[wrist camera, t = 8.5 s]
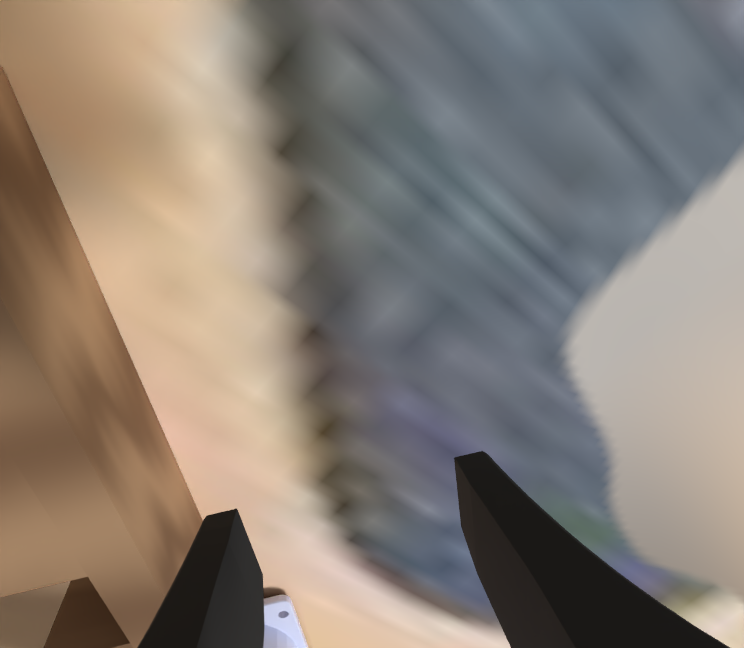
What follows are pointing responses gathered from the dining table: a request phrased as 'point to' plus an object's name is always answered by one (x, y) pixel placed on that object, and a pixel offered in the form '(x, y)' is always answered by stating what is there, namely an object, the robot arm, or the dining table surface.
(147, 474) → the wooden notched bar
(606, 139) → the dining table surface
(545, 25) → the dining table surface
